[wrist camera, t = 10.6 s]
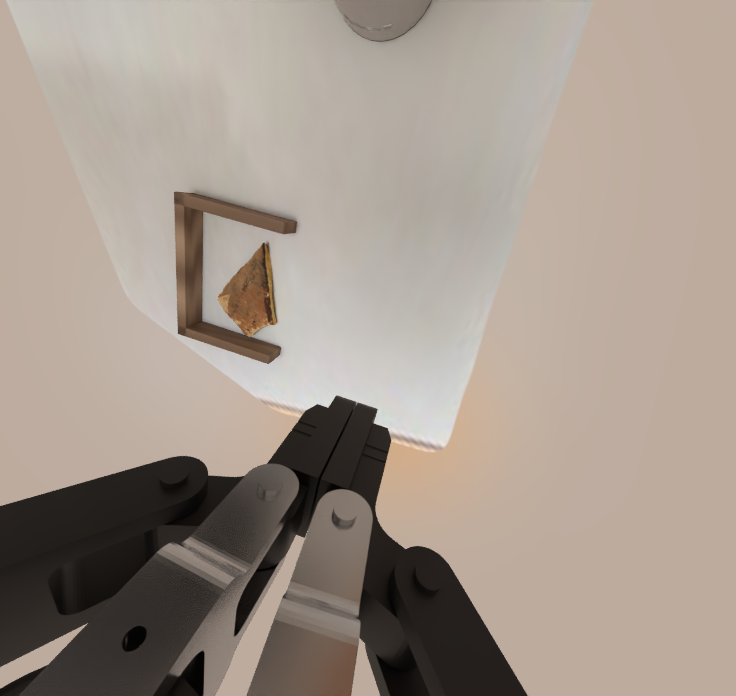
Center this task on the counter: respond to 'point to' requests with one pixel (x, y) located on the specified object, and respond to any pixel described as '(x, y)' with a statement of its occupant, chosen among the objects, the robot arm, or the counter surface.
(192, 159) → the counter surface
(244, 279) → the shard
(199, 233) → the wooden c-shaped bracket
